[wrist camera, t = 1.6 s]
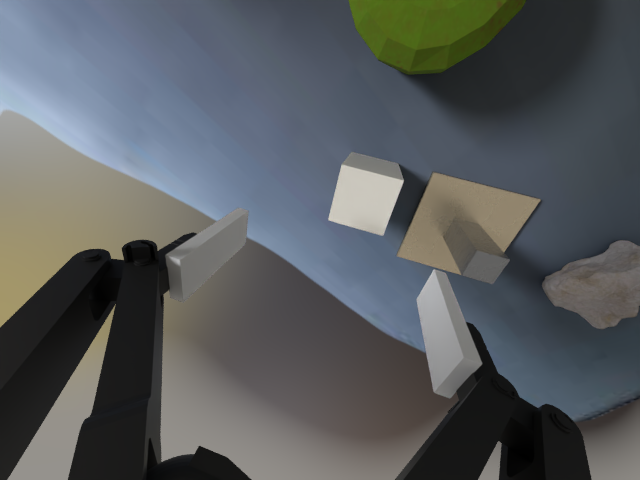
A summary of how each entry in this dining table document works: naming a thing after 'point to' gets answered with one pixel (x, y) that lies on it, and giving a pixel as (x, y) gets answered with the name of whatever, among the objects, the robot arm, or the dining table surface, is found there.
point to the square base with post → (465, 227)
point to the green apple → (429, 30)
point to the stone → (599, 285)
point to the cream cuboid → (366, 193)
